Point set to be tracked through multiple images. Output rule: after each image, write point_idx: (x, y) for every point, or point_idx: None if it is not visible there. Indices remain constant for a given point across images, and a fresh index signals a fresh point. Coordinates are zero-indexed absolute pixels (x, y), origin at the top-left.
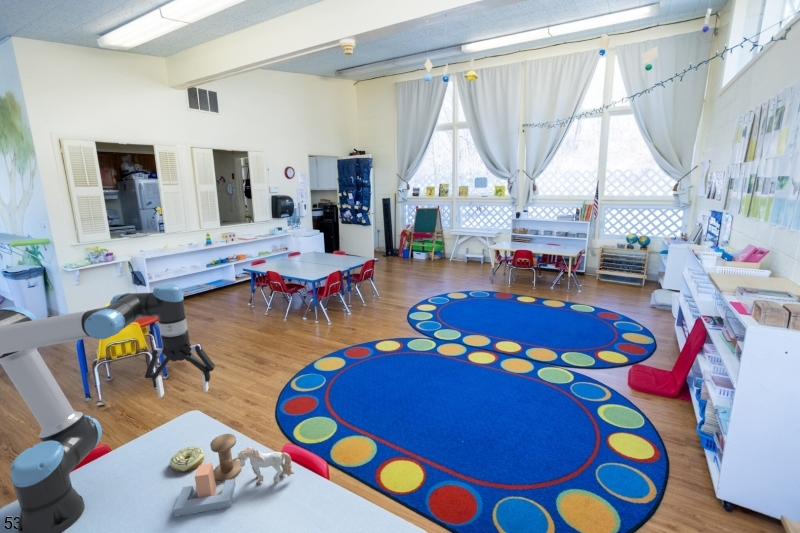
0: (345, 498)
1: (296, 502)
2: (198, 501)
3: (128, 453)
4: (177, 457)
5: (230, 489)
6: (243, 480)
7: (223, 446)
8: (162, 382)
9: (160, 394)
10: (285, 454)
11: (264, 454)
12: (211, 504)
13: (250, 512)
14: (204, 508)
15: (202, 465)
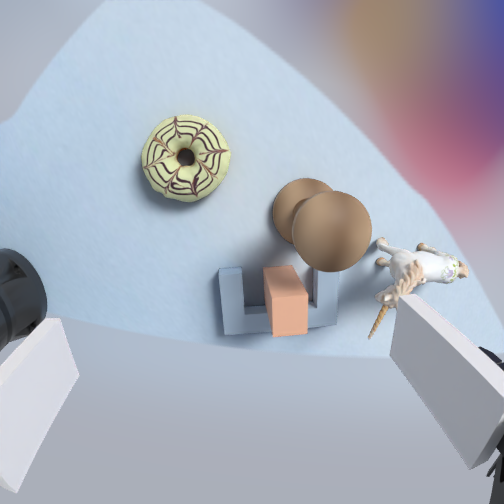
0: (490, 311)
1: None
2: None
3: (30, 111)
4: (160, 166)
5: (334, 297)
6: None
7: (340, 261)
8: (9, 376)
9: (68, 389)
10: (466, 277)
11: (429, 271)
12: None
13: (368, 331)
14: None
15: (282, 300)
